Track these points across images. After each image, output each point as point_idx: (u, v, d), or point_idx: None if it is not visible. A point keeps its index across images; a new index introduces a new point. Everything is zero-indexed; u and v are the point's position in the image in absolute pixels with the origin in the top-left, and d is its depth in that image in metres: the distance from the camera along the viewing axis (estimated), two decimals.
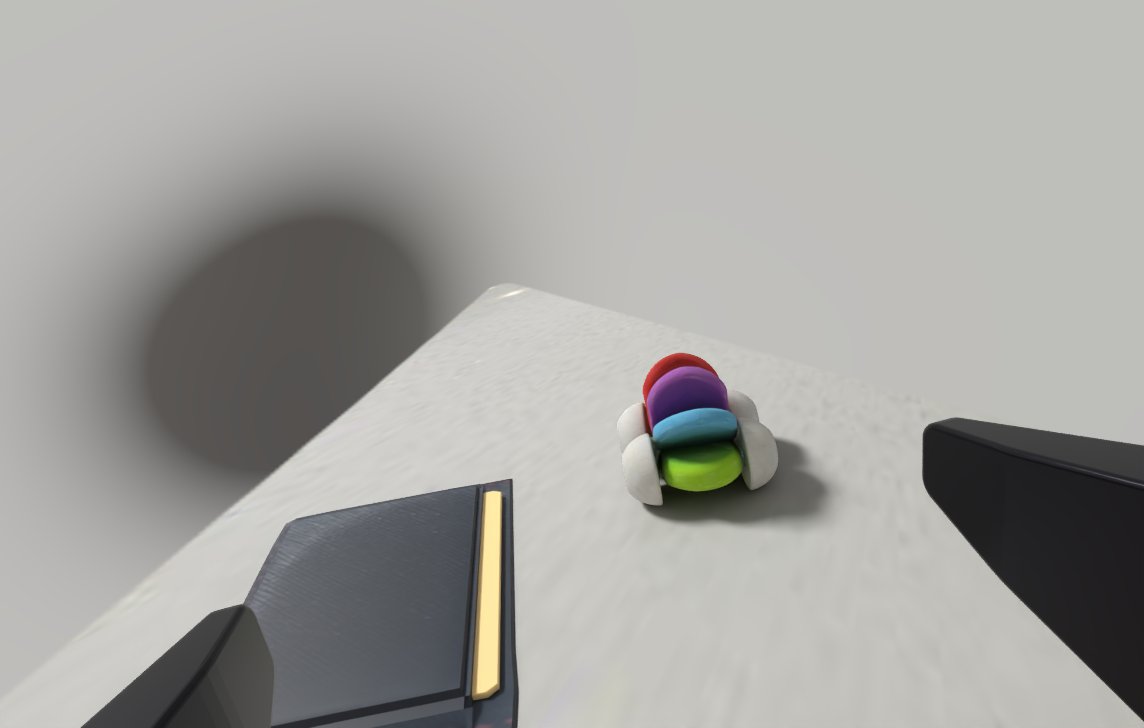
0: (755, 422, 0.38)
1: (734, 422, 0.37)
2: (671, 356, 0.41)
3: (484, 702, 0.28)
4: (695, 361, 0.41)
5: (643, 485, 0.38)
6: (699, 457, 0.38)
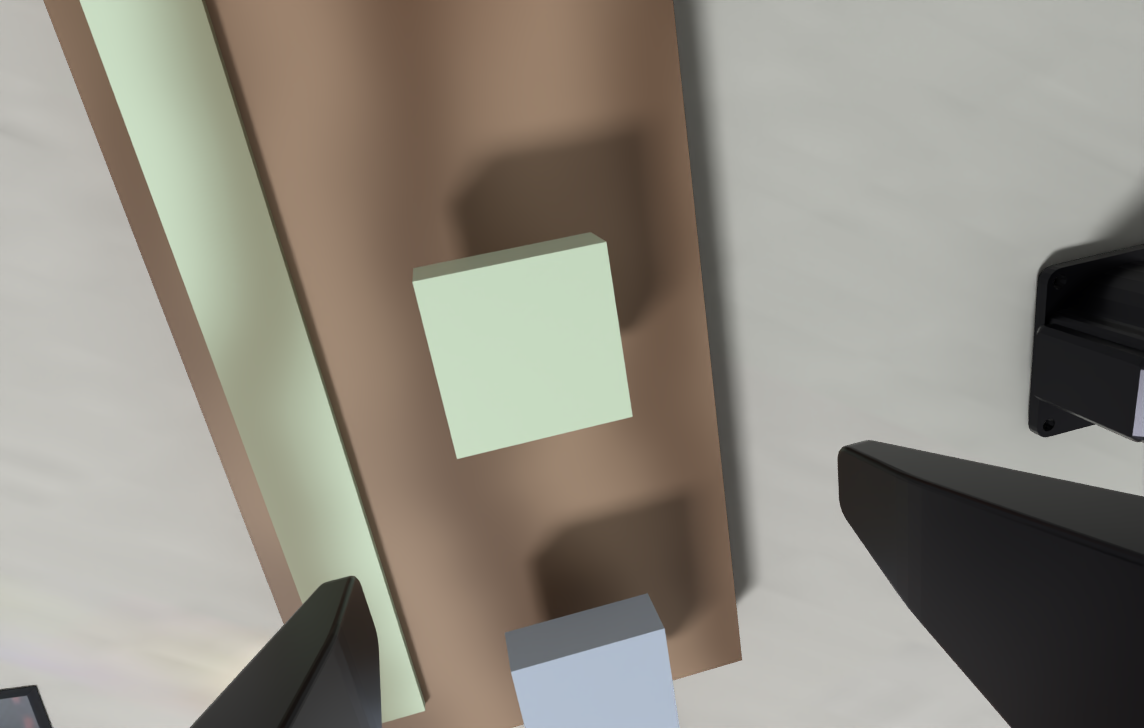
0: None
1: None
2: None
3: None
4: None
5: None
6: None
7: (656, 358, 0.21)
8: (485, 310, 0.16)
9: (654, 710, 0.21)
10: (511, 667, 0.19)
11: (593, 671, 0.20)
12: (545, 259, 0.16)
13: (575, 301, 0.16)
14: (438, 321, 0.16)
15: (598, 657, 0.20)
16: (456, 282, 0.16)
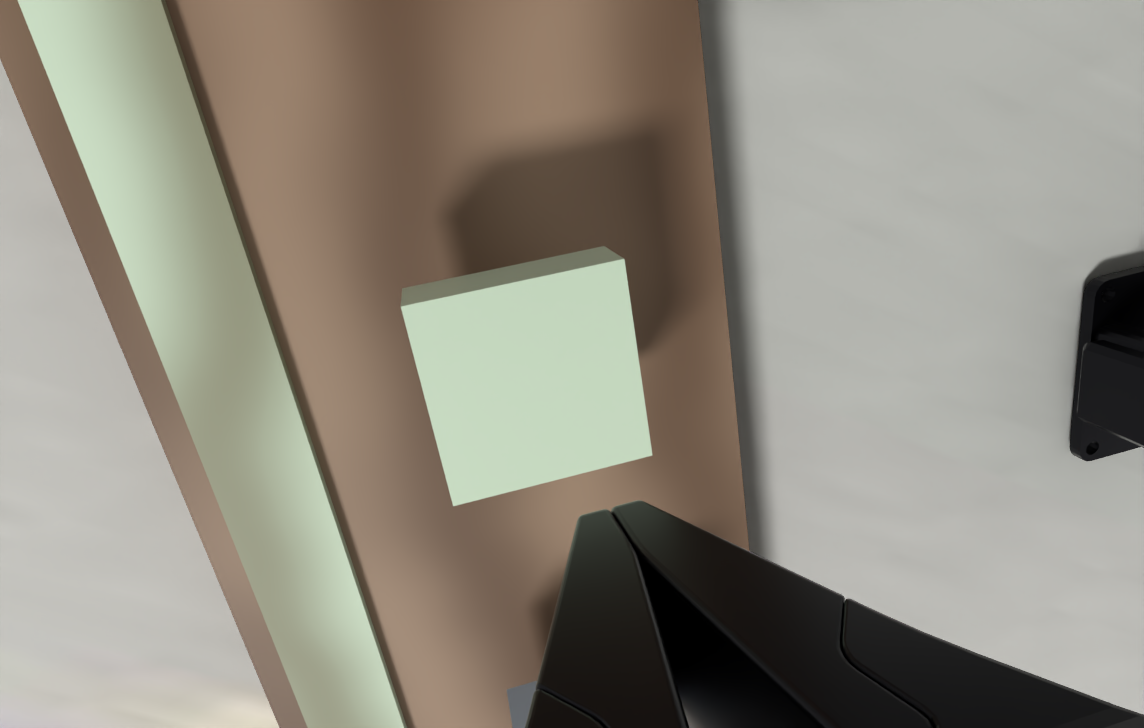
0: None
1: None
2: None
3: None
4: None
5: None
6: None
7: (674, 384, 0.18)
8: (485, 338, 0.14)
9: None
10: None
11: None
12: (554, 279, 0.14)
13: (588, 327, 0.14)
14: (431, 351, 0.14)
15: None
16: (451, 306, 0.13)
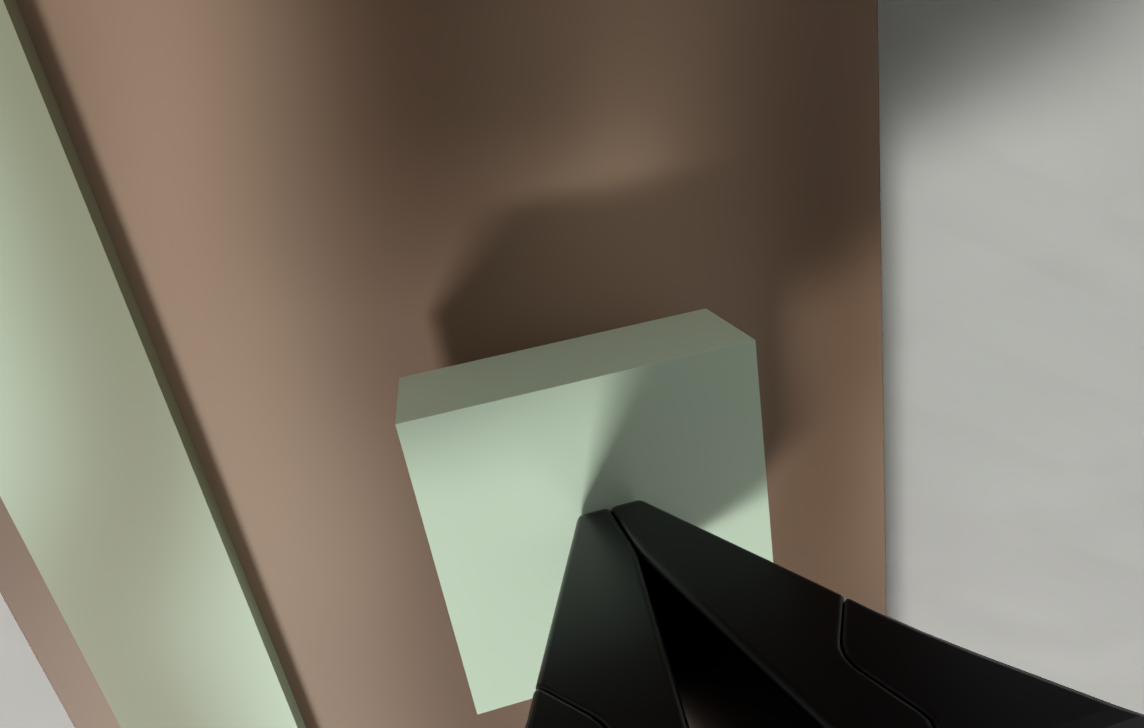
0: None
1: None
2: None
3: None
4: None
5: None
6: None
7: (801, 507, 0.13)
8: (532, 468, 0.09)
9: None
10: None
11: None
12: (645, 375, 0.08)
13: (693, 445, 0.09)
14: (445, 491, 0.08)
15: None
16: (479, 422, 0.08)
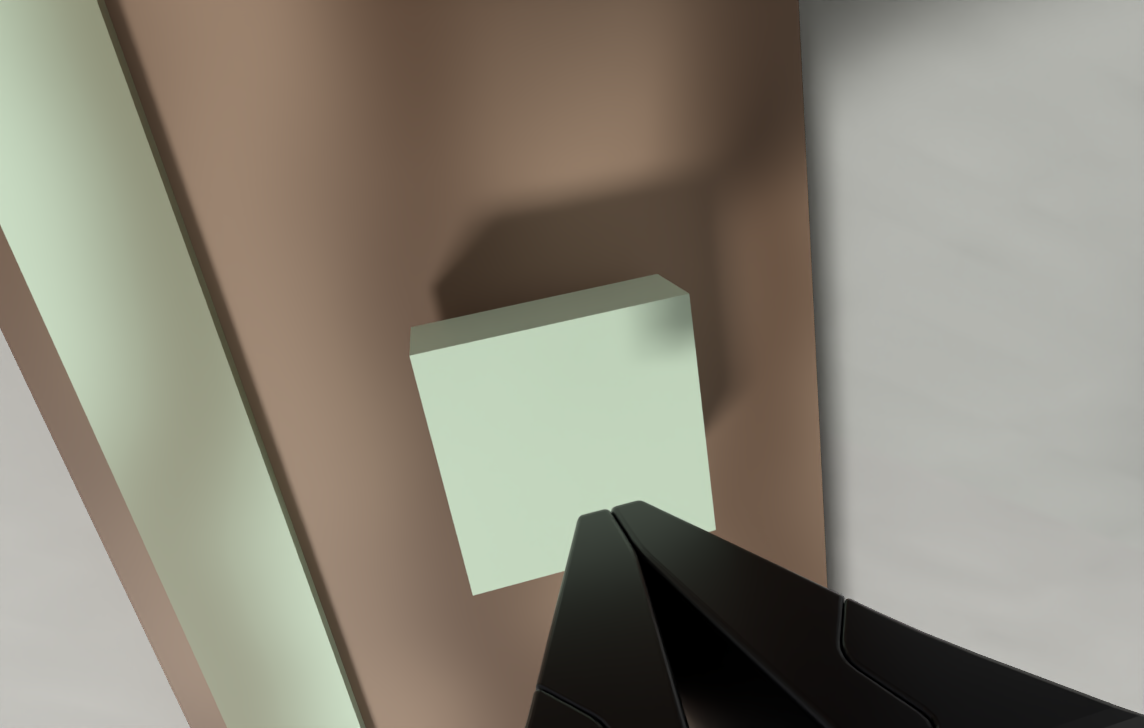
0: None
1: None
2: None
3: None
4: None
5: None
6: None
7: (748, 449, 0.15)
8: (515, 393, 0.11)
9: None
10: None
11: None
12: (602, 320, 0.11)
13: (642, 378, 0.11)
14: (447, 410, 0.11)
15: None
16: (473, 355, 0.11)
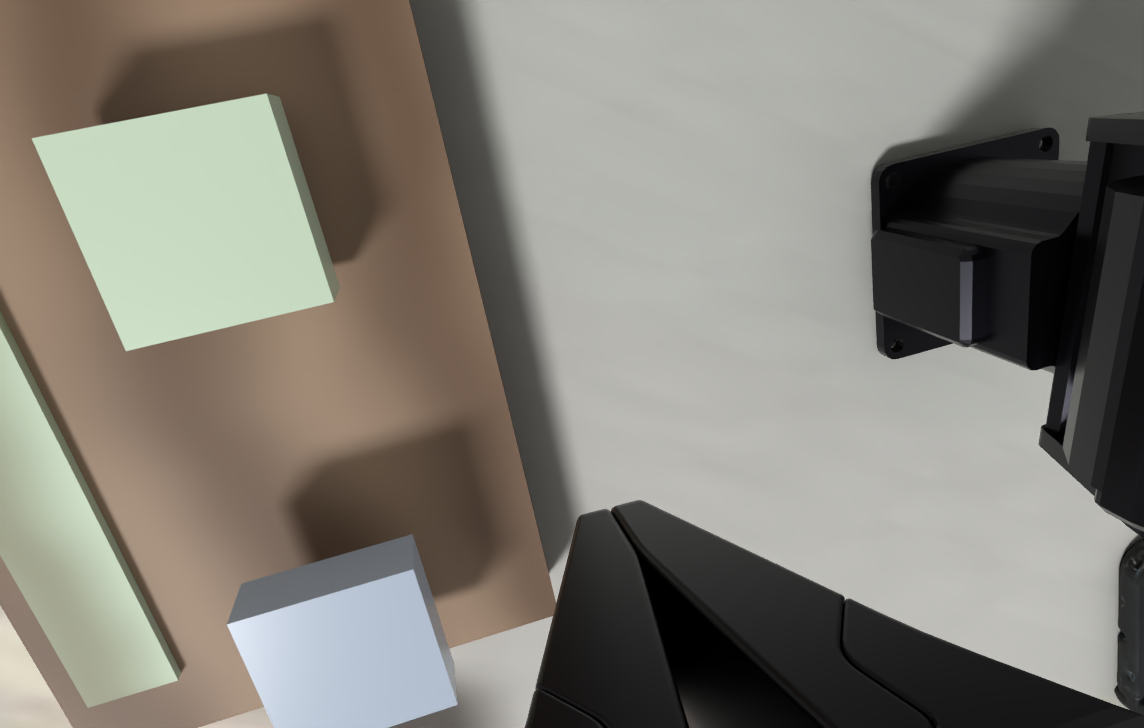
0: None
1: None
2: None
3: None
4: None
5: None
6: None
7: (406, 263, 0.18)
8: (130, 174, 0.14)
9: (416, 666, 0.18)
10: (229, 619, 0.17)
11: (332, 621, 0.17)
12: (193, 113, 0.14)
13: (239, 165, 0.14)
14: (73, 186, 0.14)
15: (335, 605, 0.17)
16: (87, 139, 0.14)
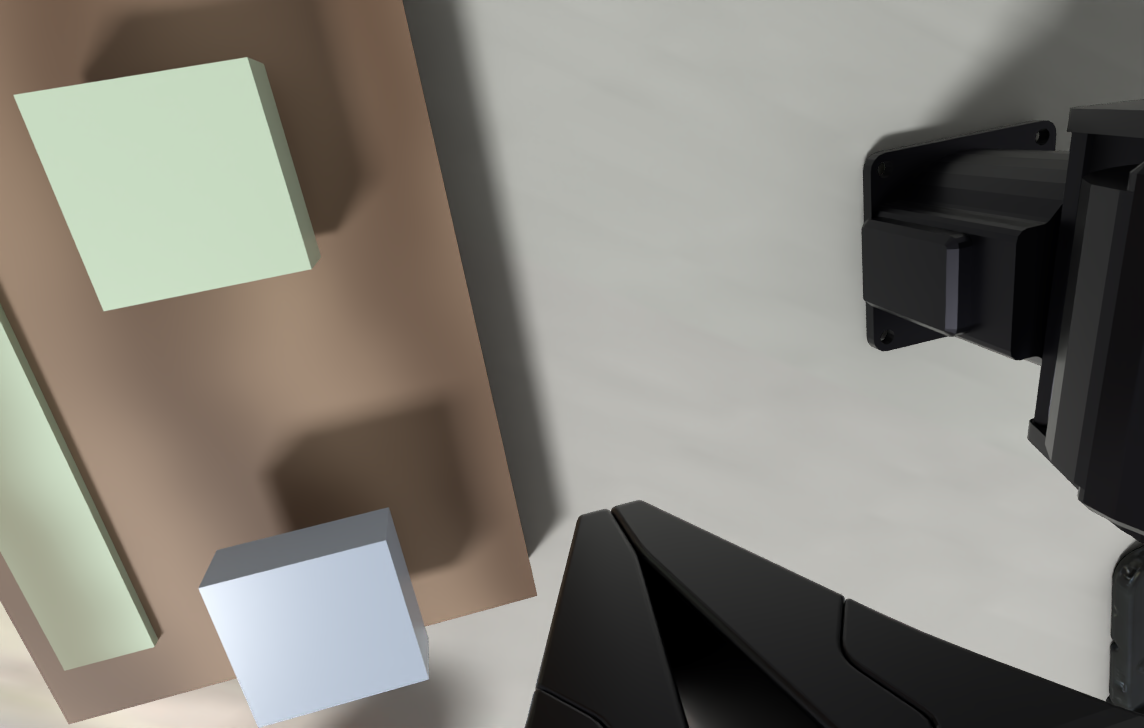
0: None
1: None
2: None
3: None
4: None
5: None
6: None
7: (389, 235, 0.18)
8: (110, 134, 0.14)
9: (388, 638, 0.18)
10: (201, 583, 0.17)
11: (304, 589, 0.17)
12: (174, 74, 0.14)
13: (219, 127, 0.14)
14: (54, 144, 0.14)
15: (307, 573, 0.17)
16: (68, 98, 0.14)
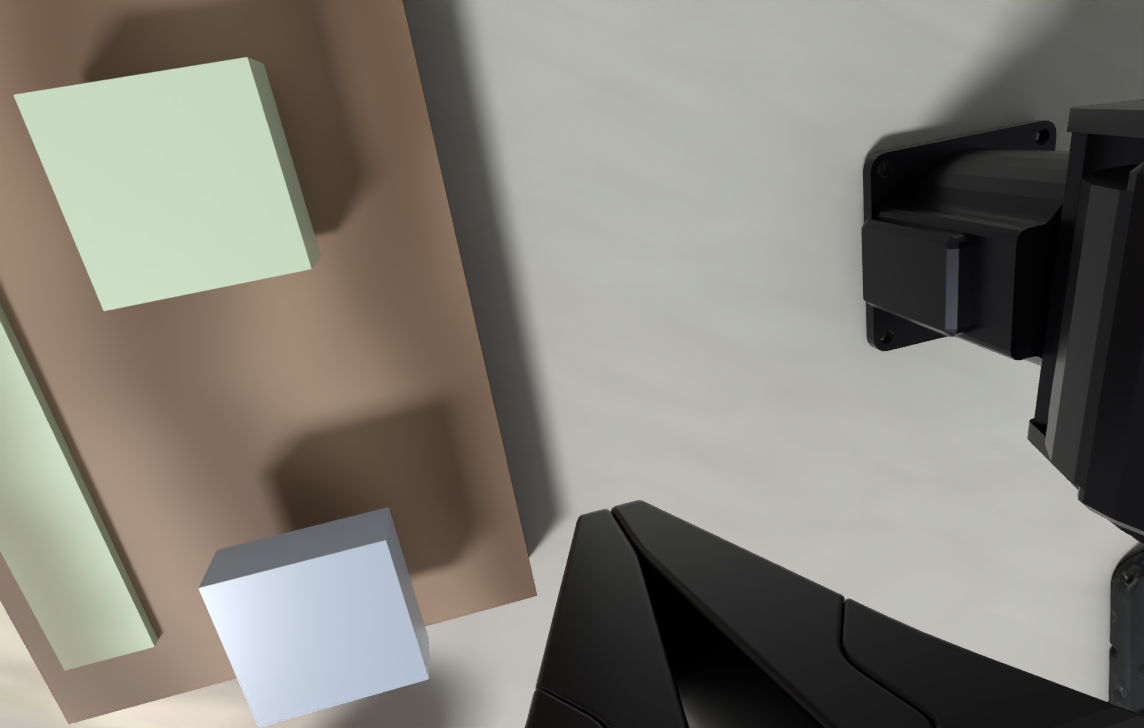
0: None
1: None
2: None
3: None
4: None
5: None
6: None
7: (389, 235, 0.18)
8: (110, 133, 0.14)
9: (388, 638, 0.18)
10: (201, 583, 0.17)
11: (304, 589, 0.17)
12: (174, 74, 0.14)
13: (219, 127, 0.14)
14: (54, 144, 0.14)
15: (307, 573, 0.17)
16: (68, 98, 0.14)
